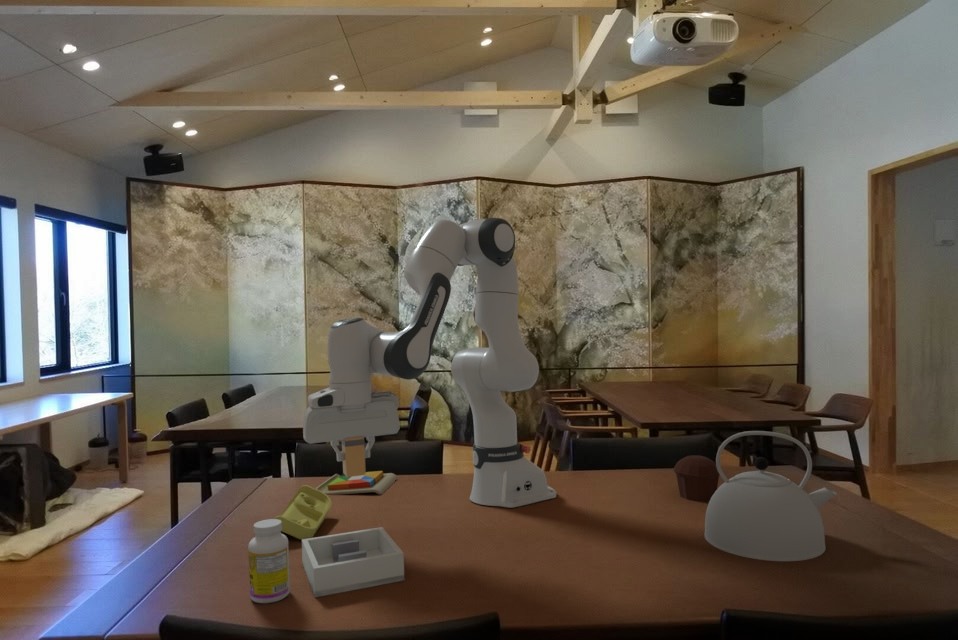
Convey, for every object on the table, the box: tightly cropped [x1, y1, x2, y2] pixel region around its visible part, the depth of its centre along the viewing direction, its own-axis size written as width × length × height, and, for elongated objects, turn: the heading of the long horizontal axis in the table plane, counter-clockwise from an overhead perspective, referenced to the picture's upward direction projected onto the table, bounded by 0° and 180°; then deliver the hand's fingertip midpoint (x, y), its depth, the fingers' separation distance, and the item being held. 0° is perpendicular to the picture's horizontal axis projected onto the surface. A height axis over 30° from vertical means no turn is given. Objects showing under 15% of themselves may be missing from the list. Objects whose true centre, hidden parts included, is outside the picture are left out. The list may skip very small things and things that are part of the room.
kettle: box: [704, 430, 837, 562], centre depth 133 cm, size 25×23×22 cm
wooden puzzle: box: [315, 470, 398, 496], centre depth 184 cm, size 18×19×4 cm
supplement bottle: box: [247, 518, 291, 604], centre depth 113 cm, size 7×7×13 cm
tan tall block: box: [340, 437, 367, 477], centre depth 139 cm, size 4×4×8 cm
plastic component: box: [273, 484, 333, 541], centre depth 150 cm, size 20×7×10 cm
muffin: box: [673, 454, 721, 502], centre depth 165 cm, size 12×11×10 cm
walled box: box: [301, 526, 405, 598], centre depth 123 cm, size 16×16×5 cm
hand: (353, 459), depth 139 cm, fingers closed on tan tall block, 4 cm apart
